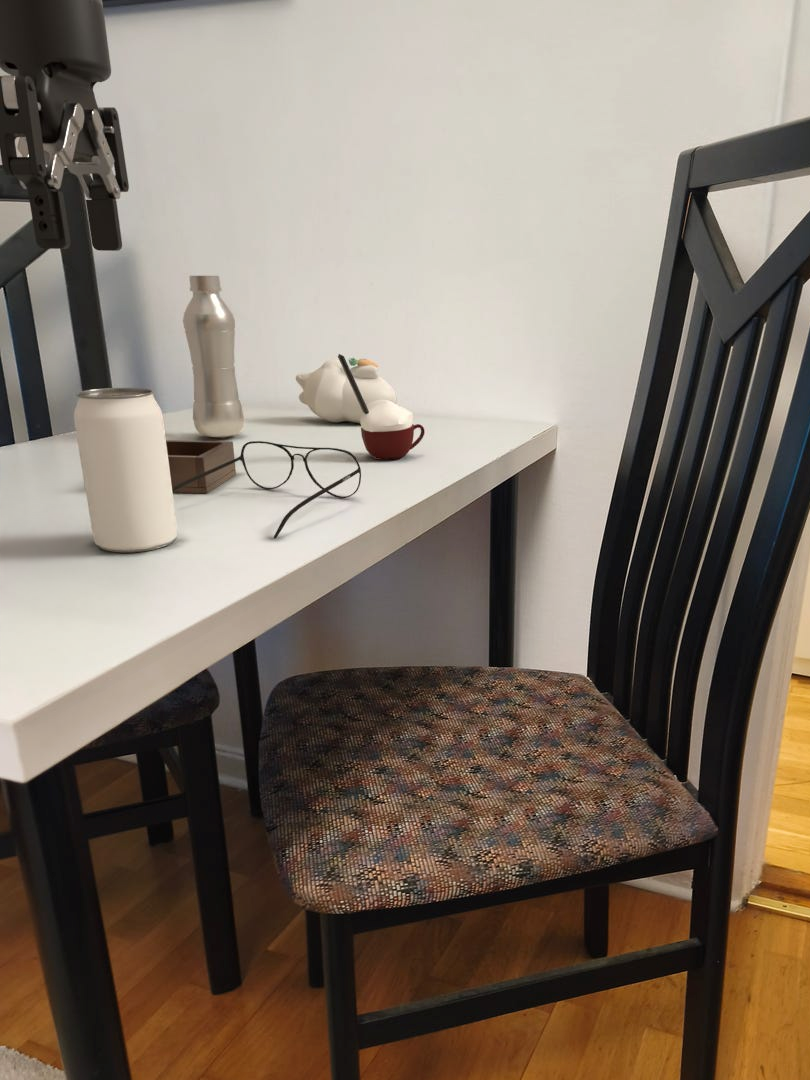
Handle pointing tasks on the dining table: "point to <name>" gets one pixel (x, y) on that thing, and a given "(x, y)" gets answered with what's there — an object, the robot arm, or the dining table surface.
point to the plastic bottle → (212, 360)
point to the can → (125, 469)
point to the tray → (199, 463)
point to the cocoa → (384, 425)
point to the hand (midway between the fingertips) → (82, 249)
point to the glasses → (287, 478)
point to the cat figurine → (343, 390)
